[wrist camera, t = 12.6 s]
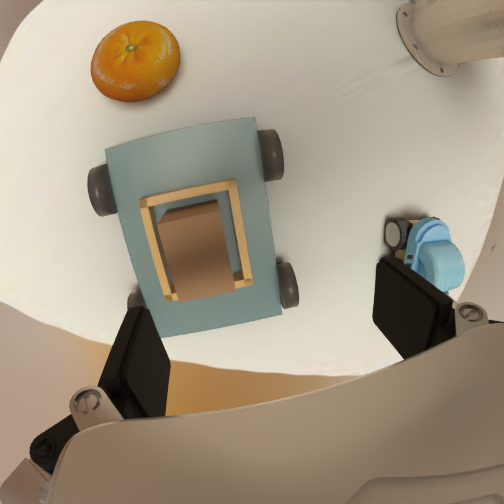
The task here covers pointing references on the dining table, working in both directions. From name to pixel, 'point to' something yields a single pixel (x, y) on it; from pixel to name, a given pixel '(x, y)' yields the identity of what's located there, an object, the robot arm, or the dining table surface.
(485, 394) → the robot arm
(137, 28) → the fruit
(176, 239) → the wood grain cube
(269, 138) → the chassis
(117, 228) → the dining table surface
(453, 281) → the toy excavator
